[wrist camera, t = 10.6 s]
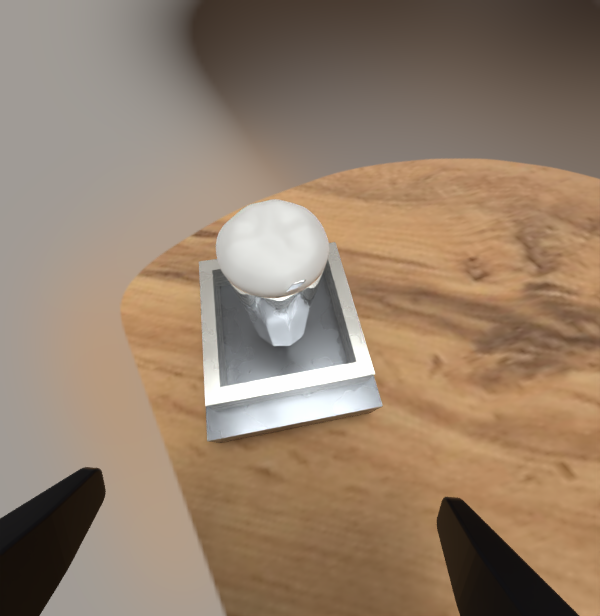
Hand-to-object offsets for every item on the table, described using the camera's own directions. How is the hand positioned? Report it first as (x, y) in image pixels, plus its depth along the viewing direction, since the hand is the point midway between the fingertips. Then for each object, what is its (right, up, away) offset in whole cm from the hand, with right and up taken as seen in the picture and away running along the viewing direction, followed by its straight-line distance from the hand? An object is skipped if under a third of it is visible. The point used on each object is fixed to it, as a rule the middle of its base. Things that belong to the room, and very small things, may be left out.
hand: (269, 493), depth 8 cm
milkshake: (0, +3, +12) cm, 12 cm away
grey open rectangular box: (0, +2, +14) cm, 14 cm away
